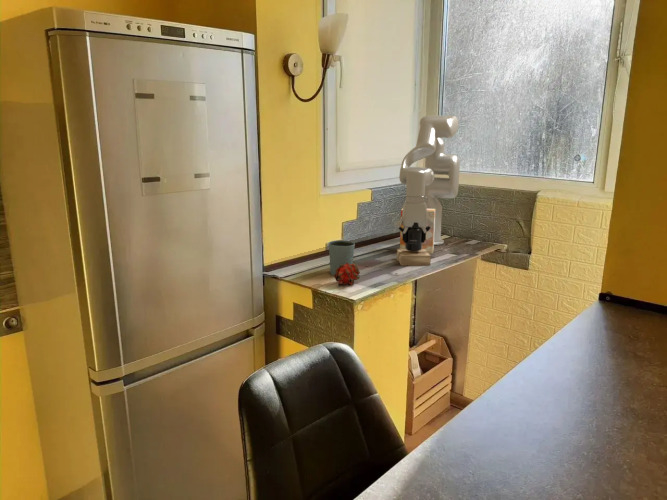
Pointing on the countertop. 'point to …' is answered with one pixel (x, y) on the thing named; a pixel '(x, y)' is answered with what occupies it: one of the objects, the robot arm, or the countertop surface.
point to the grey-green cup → (340, 254)
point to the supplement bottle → (414, 238)
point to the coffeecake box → (429, 241)
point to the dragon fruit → (346, 274)
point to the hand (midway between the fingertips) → (413, 241)
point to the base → (413, 257)
